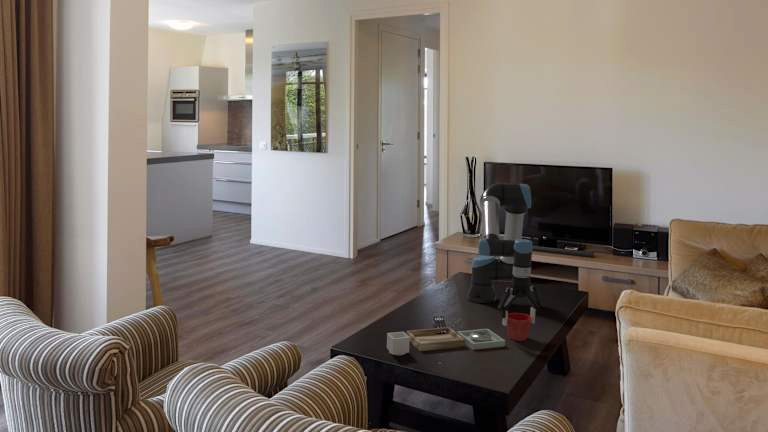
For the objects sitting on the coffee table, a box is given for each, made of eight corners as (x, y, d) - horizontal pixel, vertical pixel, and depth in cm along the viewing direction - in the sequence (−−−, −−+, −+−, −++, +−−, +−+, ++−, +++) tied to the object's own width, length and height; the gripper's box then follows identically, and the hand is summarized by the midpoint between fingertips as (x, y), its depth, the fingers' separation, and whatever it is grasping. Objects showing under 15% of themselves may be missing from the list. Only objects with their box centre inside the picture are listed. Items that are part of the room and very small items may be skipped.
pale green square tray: (456, 337, 256) (456, 331, 255) (487, 334, 261) (487, 328, 260) (472, 349, 242) (472, 343, 241) (504, 346, 247) (505, 340, 246)
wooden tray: (406, 337, 254) (406, 330, 253) (448, 333, 260) (448, 327, 260) (420, 351, 239) (420, 344, 238) (464, 346, 245) (465, 339, 245)
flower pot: (501, 333, 262) (503, 312, 260) (525, 333, 263) (527, 312, 261) (508, 342, 251) (510, 320, 250) (533, 342, 252) (535, 320, 251)
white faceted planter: (386, 349, 239) (387, 333, 238) (402, 348, 242) (403, 331, 241) (392, 356, 233) (392, 339, 232) (409, 354, 235) (409, 337, 234)
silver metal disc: (466, 334, 254) (466, 332, 254) (485, 332, 256) (485, 330, 256) (476, 341, 245) (476, 340, 245) (495, 339, 248) (495, 338, 248)
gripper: (500, 279, 245) (497, 328, 248) (551, 276, 253) (548, 324, 256) (491, 275, 252) (488, 323, 255) (541, 272, 260) (538, 319, 263)
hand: (518, 323), depth 256 cm, fingers open, 13 cm apart
